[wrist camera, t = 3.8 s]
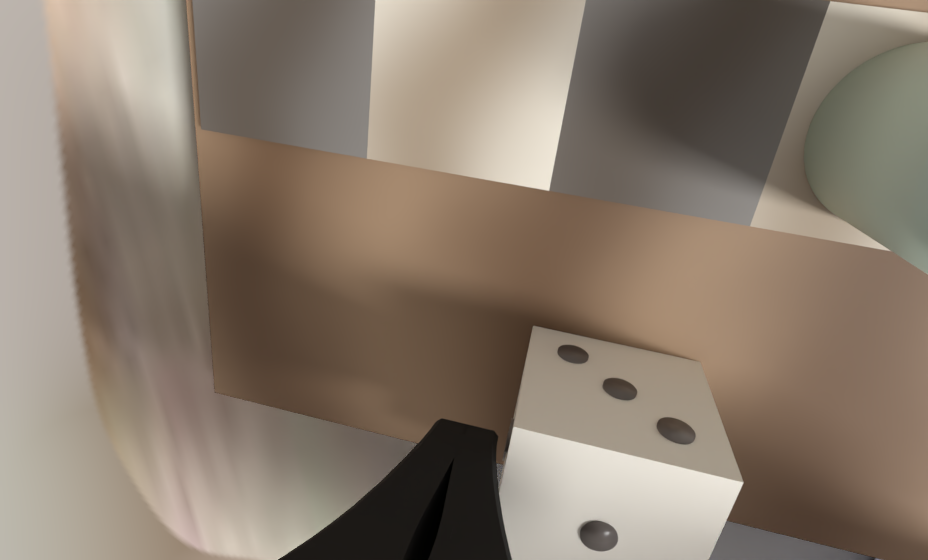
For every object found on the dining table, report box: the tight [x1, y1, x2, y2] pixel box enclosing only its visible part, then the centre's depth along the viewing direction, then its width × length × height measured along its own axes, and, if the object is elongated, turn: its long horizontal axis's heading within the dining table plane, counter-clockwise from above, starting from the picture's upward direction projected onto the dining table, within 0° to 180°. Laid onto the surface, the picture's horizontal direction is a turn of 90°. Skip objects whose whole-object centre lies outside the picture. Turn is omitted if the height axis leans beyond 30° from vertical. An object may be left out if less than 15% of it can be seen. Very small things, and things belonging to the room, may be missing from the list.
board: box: [186, 0, 928, 560], centre depth 12 cm, size 20×16×1 cm
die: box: [499, 326, 744, 560], centre depth 12 cm, size 4×4×4 cm
